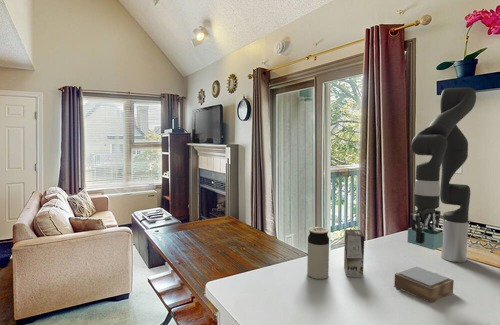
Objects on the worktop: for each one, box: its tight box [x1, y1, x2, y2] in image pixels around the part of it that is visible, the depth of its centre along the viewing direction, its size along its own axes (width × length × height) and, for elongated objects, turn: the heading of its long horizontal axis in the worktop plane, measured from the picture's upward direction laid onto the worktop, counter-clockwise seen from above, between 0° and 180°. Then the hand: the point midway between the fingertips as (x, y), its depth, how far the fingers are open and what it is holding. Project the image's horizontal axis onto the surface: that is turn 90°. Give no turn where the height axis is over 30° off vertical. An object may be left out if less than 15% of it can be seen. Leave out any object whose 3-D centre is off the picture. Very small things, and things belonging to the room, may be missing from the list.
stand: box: [393, 266, 454, 304], centre depth 107 cm, size 13×13×5 cm
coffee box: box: [343, 228, 366, 279], centre depth 120 cm, size 9×6×16 cm
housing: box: [407, 227, 443, 251], centre depth 106 cm, size 9×6×5 cm, turn 30°
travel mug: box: [306, 226, 330, 280], centre depth 118 cm, size 8×8×18 cm
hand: (424, 241), depth 106 cm, fingers closed on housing, 5 cm apart
